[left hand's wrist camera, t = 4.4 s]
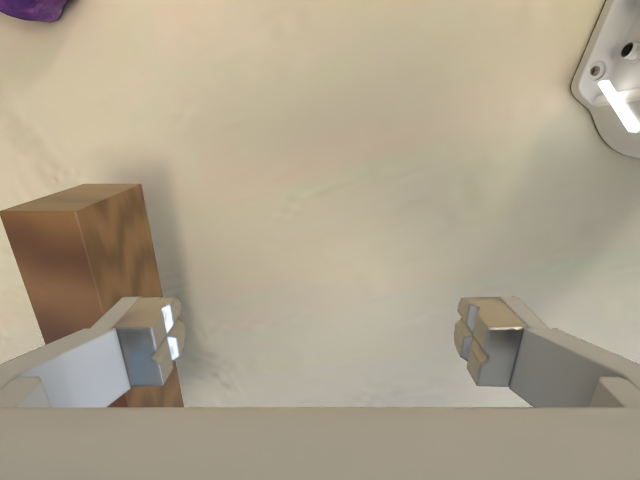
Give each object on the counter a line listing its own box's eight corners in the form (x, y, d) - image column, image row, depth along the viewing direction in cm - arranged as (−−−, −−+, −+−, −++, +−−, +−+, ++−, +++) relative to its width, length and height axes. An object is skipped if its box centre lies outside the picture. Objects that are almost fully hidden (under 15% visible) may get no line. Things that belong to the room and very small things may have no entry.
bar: (84, 183, 30) (-3, 211, 22) (141, 183, 30) (75, 211, 22) (144, 422, 40) (99, 499, 32) (187, 423, 40) (153, 500, 32)
